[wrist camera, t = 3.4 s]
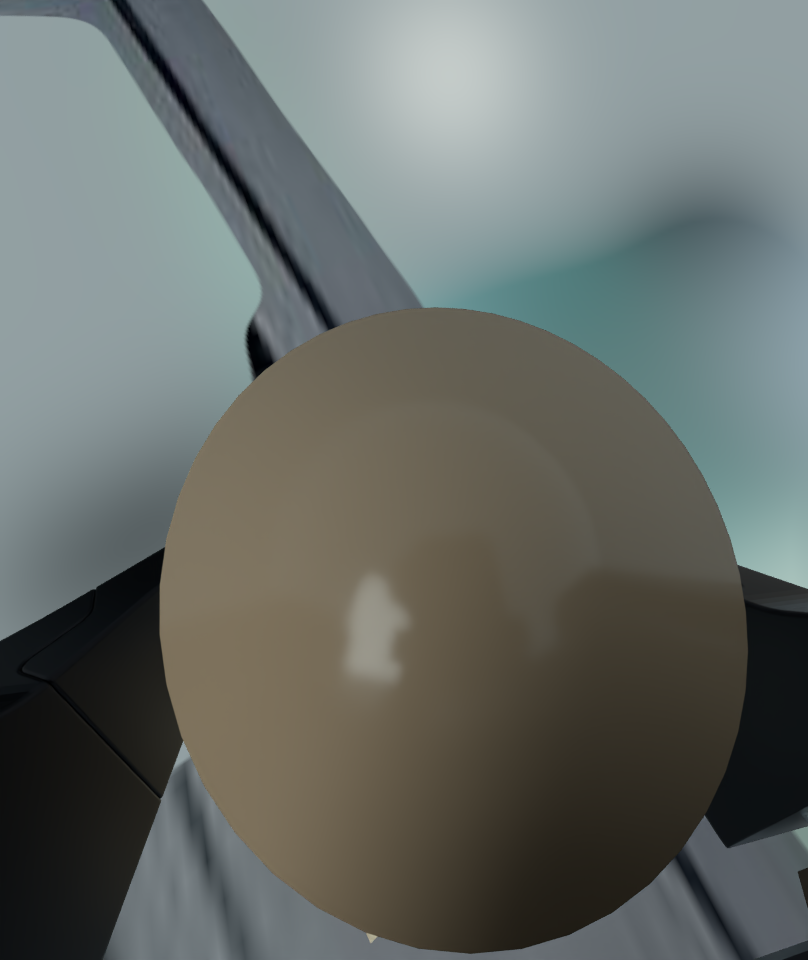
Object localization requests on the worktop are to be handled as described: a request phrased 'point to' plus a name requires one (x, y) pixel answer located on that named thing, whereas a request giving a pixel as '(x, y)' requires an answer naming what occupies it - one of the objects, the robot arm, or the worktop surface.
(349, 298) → the worktop surface
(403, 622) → the jar
